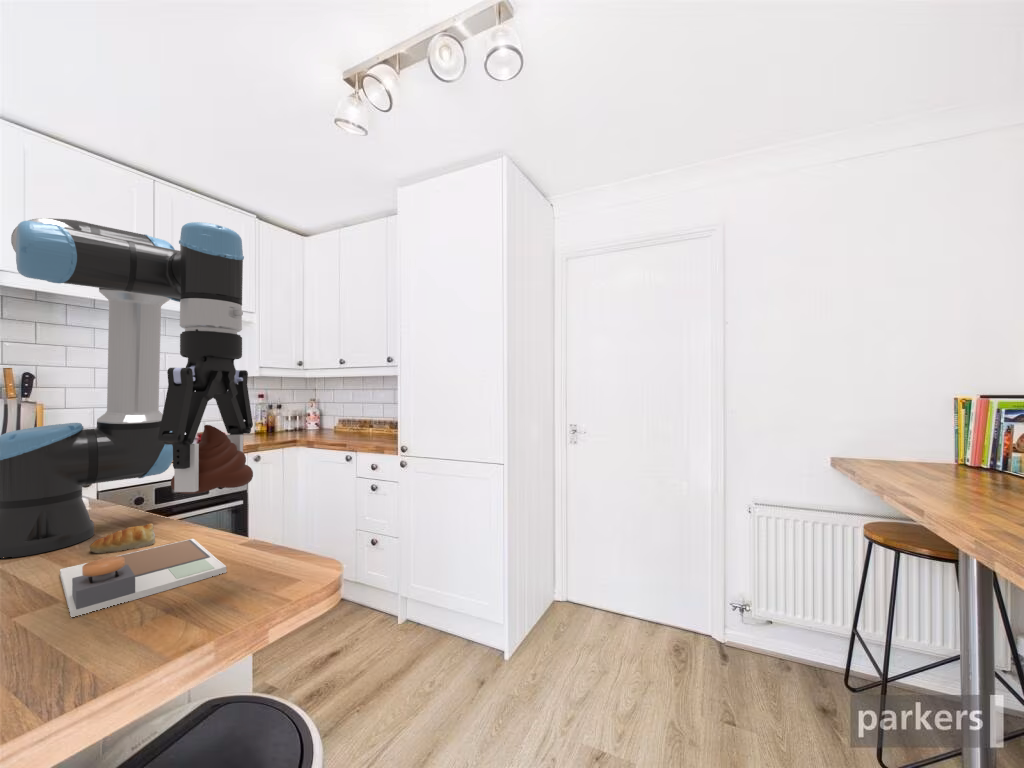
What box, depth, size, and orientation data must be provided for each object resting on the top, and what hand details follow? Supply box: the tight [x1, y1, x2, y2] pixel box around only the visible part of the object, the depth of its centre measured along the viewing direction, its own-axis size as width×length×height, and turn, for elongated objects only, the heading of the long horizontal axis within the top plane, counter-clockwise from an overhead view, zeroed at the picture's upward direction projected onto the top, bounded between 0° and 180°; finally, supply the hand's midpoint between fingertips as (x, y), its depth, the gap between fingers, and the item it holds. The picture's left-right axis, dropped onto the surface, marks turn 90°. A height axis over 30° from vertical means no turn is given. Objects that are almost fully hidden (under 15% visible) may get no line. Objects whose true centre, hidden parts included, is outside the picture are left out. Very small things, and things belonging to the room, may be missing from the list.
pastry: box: [89, 523, 156, 554], centre depth 82 cm, size 9×7×4 cm
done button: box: [82, 555, 125, 583], centre depth 61 cm, size 4×4×3 cm
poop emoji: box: [170, 424, 254, 495], centre depth 62 cm, size 10×8×9 cm
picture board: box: [59, 538, 227, 618], centre depth 70 cm, size 20×18×4 cm
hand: (211, 482), depth 62 cm, fingers closed on poop emoji, 9 cm apart
